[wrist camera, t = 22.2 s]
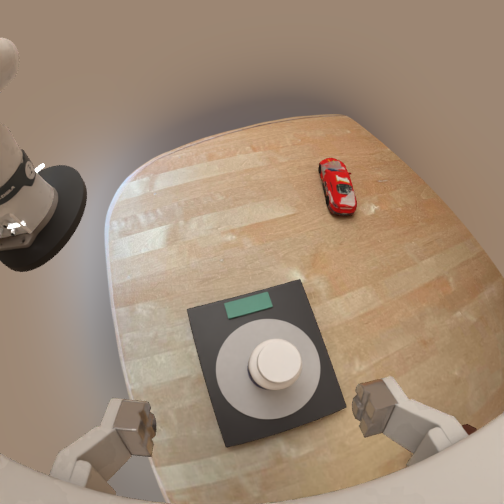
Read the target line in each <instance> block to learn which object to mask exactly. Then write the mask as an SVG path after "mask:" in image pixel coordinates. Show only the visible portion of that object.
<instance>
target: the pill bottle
mask: <svg viewBox="0 0 504 504" xmlns="http://www.w3.org/2000/svg"><path fill="white" fill-rule="evenodd" d="M247 371H248V375H249V378H250V379H251V381H252V382H253V383H254V384H255V385H256V386H258V387H259V388H262V389H265V390H281V389H285V388H287V387H289V386H291V385H292V384H293V383H294V382H295V381H296V380H297V379H298V378H299V376H300V374H301V371H302V358H301V355H300V353H299V351H298V349H297V348H296V347H295V346H294V345H293V344H292V343H290V342H288V341H286V340H283V339H269V340H266V341H264V342H262V343H260V344H259V345H258V346H257V347H256V348H255V349H254V350H253V352H252V353H251V355H250V358H249V361H248V366H247Z"/></svg>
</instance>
